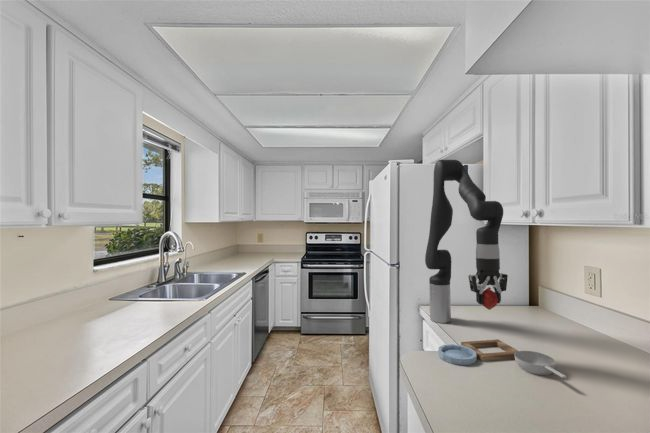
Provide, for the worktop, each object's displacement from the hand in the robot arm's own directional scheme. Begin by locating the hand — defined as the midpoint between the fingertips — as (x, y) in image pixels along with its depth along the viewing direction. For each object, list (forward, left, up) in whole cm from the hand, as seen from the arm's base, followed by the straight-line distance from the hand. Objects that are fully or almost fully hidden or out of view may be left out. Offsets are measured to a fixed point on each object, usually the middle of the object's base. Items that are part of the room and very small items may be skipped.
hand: (488, 303), depth 111 cm
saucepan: (+17, +5, -18) cm, 25 cm away
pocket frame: (0, 0, -17) cm, 17 cm away
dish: (+2, -14, -17) cm, 22 cm away
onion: (0, 0, -2) cm, 2 cm away
